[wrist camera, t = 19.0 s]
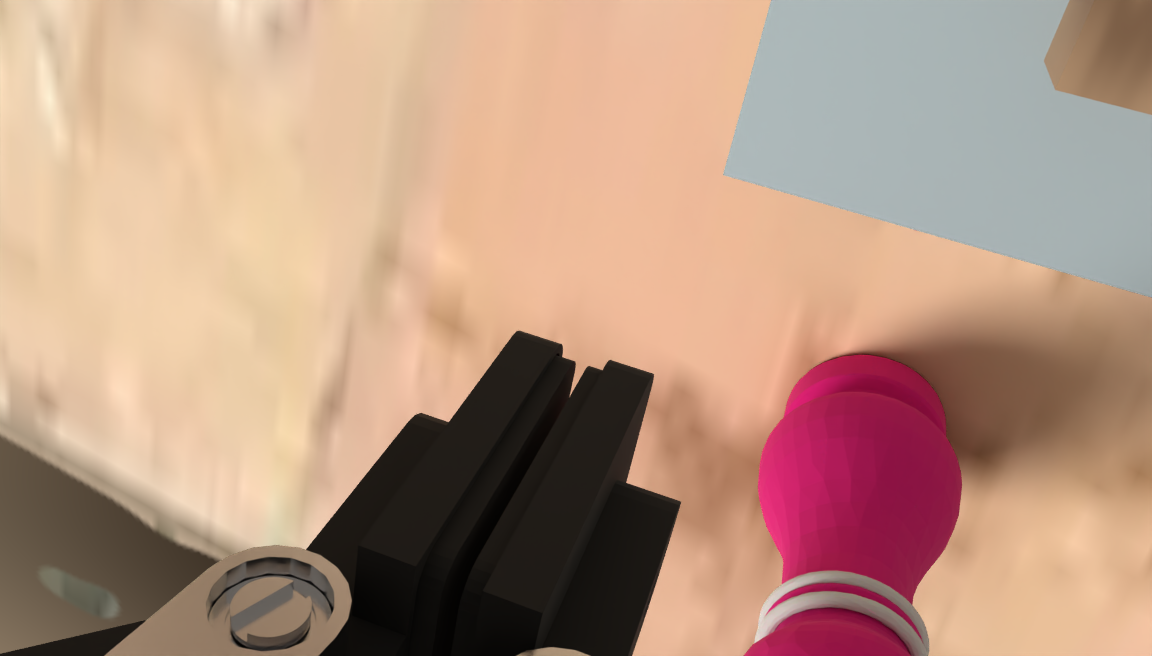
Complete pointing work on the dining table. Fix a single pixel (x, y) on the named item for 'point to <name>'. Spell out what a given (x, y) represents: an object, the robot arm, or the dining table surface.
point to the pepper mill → (855, 510)
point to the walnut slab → (1104, 52)
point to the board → (949, 131)
